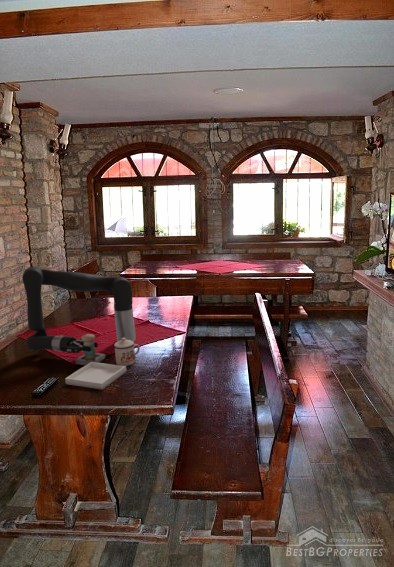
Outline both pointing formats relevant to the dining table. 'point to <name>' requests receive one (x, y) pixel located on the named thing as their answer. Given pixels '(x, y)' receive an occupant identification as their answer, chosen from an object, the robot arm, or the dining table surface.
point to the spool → (88, 342)
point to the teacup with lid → (125, 352)
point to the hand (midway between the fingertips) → (93, 347)
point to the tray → (96, 375)
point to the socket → (85, 362)
